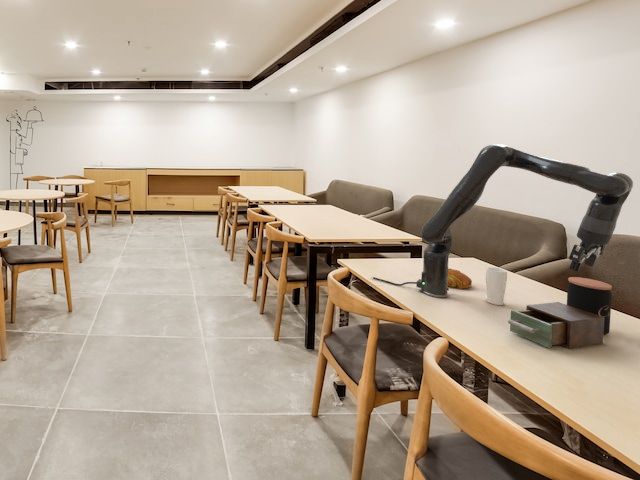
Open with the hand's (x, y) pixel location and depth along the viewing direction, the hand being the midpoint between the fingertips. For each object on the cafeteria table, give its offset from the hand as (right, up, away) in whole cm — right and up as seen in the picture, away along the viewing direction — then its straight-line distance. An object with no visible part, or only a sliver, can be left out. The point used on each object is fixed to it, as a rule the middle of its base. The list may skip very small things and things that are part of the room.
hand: (581, 267), depth 131 cm
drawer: (-18, -24, -3) cm, 30 cm away
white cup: (-6, -24, +27) cm, 37 cm away
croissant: (-7, -23, +49) cm, 55 cm away
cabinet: (-8, -25, -1) cm, 26 cm away
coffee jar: (+8, -25, +5) cm, 27 cm away
